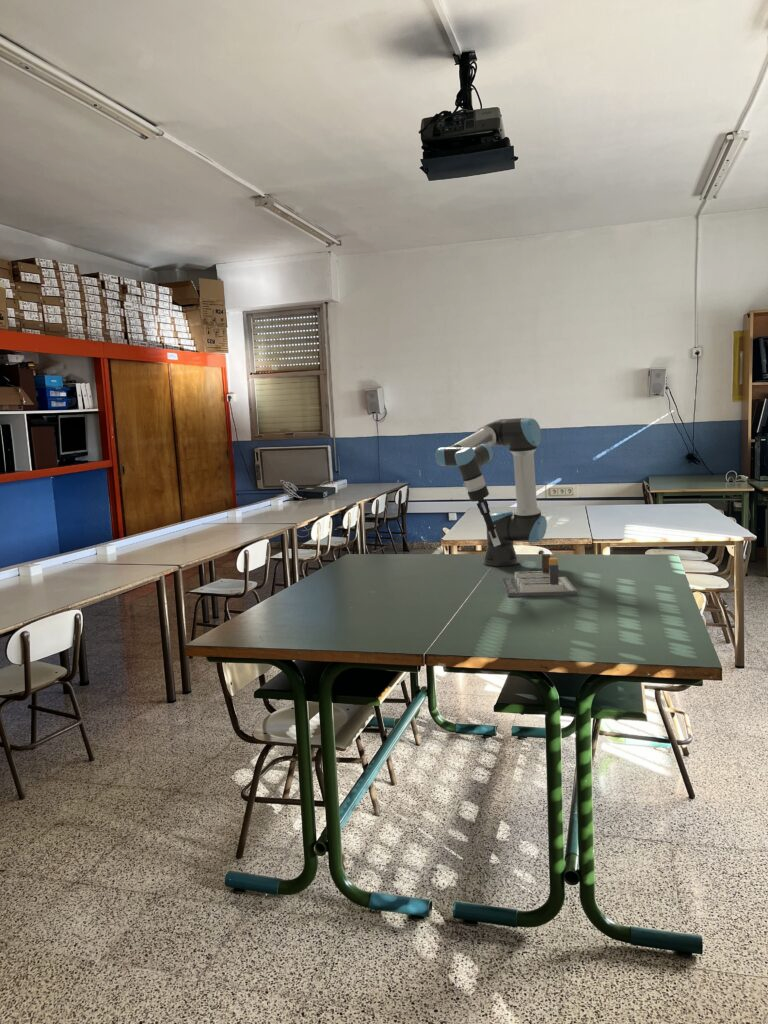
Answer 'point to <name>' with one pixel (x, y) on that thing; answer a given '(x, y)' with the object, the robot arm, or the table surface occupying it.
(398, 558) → the table surface
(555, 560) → the breaker handle
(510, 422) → the robot arm
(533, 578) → the breaker panel
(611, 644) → the table surface
